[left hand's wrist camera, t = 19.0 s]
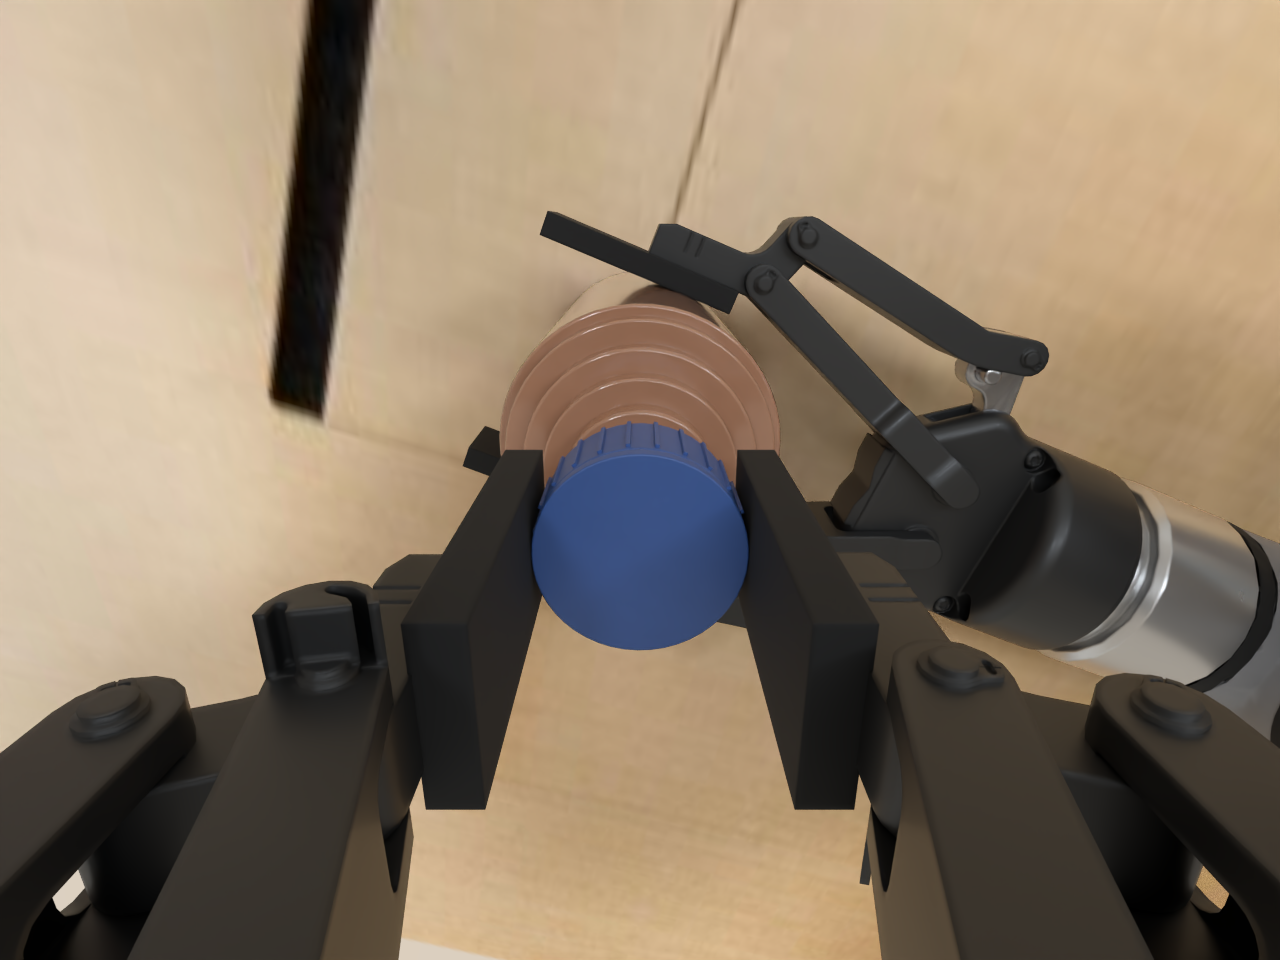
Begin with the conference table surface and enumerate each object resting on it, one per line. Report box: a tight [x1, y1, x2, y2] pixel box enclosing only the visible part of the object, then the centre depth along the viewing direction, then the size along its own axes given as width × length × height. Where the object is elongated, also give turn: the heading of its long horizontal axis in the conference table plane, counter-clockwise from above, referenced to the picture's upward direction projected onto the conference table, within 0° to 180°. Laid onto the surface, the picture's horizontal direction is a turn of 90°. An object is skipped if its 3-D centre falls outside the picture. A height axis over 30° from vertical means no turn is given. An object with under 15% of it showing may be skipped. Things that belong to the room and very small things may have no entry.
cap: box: [531, 421, 749, 650], centre depth 13 cm, size 4×4×2 cm
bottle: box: [500, 272, 781, 486], centre depth 22 cm, size 8×8×19 cm
